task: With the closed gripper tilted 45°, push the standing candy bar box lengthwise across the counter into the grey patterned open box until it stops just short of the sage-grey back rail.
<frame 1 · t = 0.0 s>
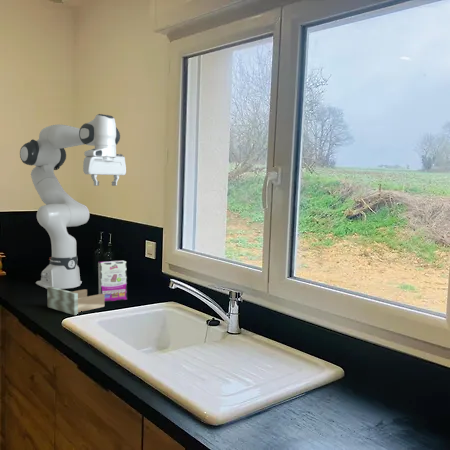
hand: (105, 185, 217), 48 cm above the worktop, tool pointing down, fingers open, 8 cm apart
candy bar box: (112, 300, 215), on the worktop
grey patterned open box: (78, 307, 202), on the worktop
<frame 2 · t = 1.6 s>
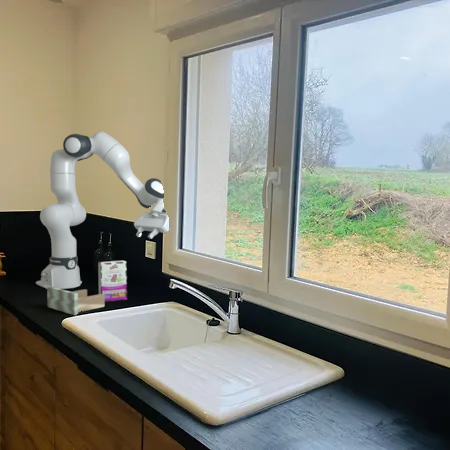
hand: (143, 236, 227), 26 cm above the worktop, tool tilted 45°, fingers open, 6 cm apart
nothing on the worktop moved.
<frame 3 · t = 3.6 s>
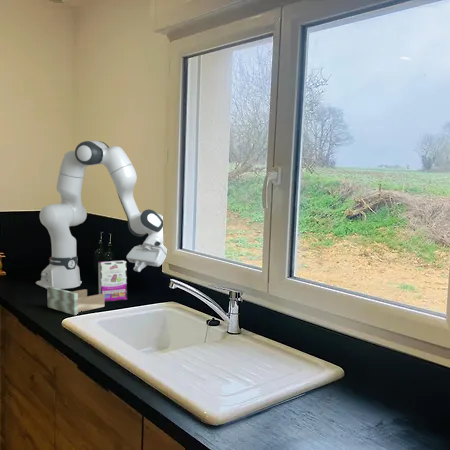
hand: (136, 270, 224), 11 cm above the worktop, tool tilted 45°, fingers closed
nothing on the worktop moved.
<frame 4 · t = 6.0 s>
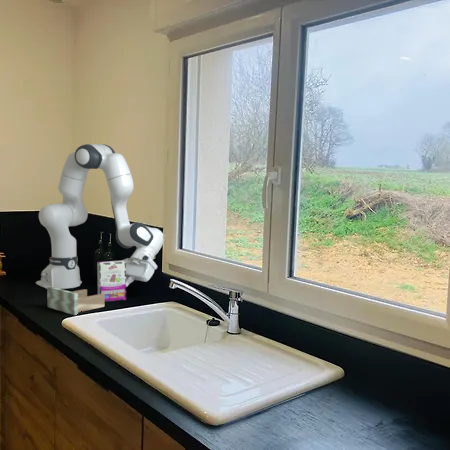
hand: (123, 285, 220), 5 cm above the worktop, tool tilted 45°, fingers closed
candy bar box: (111, 300, 215), on the worktop, touching gripper
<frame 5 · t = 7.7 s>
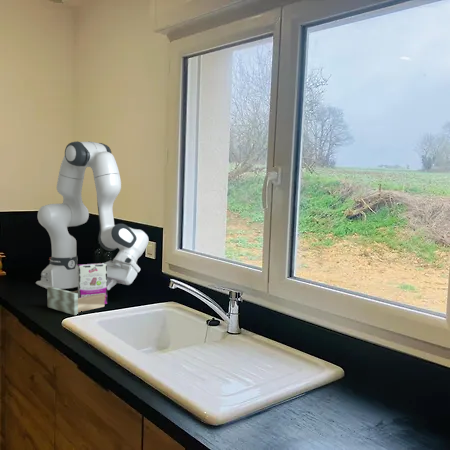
hand: (105, 288, 212), 5 cm above the worktop, tool tilted 45°, fingers closed
candy bar box: (92, 304, 207), on the worktop, touching gripper
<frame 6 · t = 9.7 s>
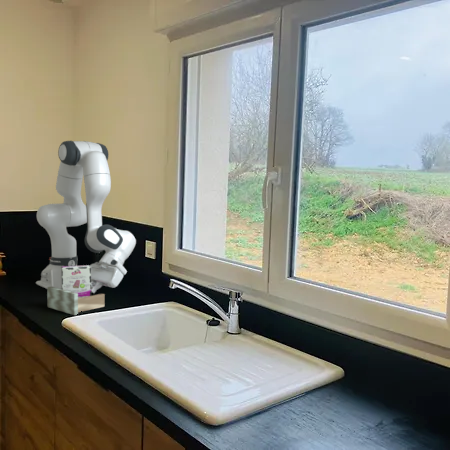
hand: (90, 291, 206), 5 cm above the worktop, tool tilted 45°, fingers closed
candy bar box: (76, 307, 202), on the worktop, touching gripper, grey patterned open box
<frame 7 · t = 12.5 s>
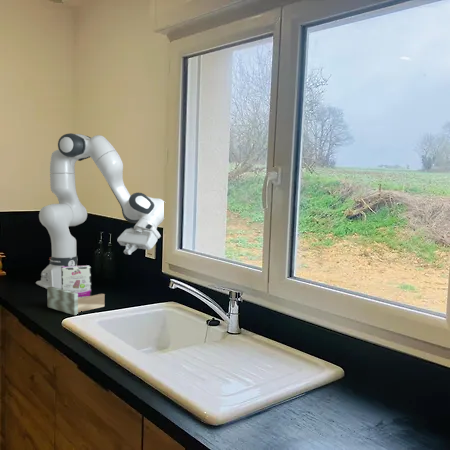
hand: (126, 253, 220), 19 cm above the worktop, tool tilted 45°, fingers closed
candy bar box: (76, 307, 202), on the worktop
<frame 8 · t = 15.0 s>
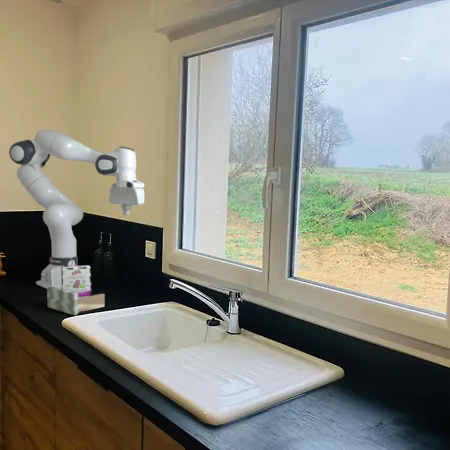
hand: (126, 214, 228), 35 cm above the worktop, tool pointing down, fingers closed
nothing on the worktop moved.
at the end: candy bar box inside the target area (0.7 cm from its centre), on the worktop; candy bar box tilted 0° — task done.
